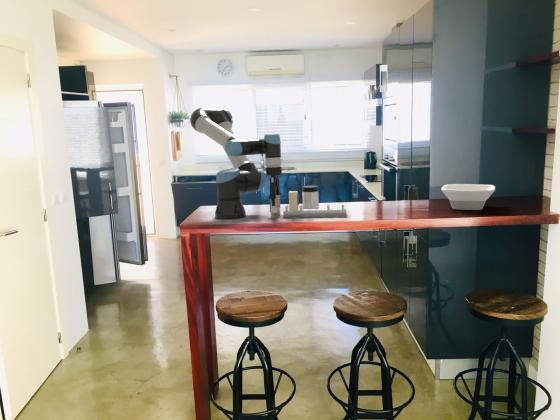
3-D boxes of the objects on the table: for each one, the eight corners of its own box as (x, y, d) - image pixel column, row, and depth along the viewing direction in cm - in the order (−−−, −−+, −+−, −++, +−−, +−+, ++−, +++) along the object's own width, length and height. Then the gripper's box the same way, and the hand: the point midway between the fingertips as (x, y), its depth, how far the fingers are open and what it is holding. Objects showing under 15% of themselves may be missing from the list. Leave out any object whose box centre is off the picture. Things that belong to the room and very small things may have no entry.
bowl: (494, 204, 234) (495, 184, 233) (494, 212, 212) (495, 190, 210) (444, 203, 245) (444, 183, 243) (439, 210, 222) (439, 189, 220)
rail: (282, 218, 219) (281, 193, 217) (284, 214, 227) (283, 190, 225) (346, 217, 215) (346, 191, 213) (346, 213, 224) (345, 189, 222)
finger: (270, 217, 222) (269, 199, 220) (271, 216, 226) (270, 197, 224) (279, 217, 221) (278, 198, 220) (280, 215, 225) (279, 197, 224)
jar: (308, 211, 236) (307, 187, 234) (299, 209, 243) (298, 186, 241) (322, 208, 241) (321, 186, 239) (312, 207, 247) (312, 185, 245)
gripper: (278, 168, 207) (280, 214, 210) (284, 164, 231) (286, 206, 235) (261, 168, 208) (264, 214, 211) (269, 165, 232) (271, 206, 235)
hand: (275, 210), depth 223 cm, fingers open, 13 cm apart
